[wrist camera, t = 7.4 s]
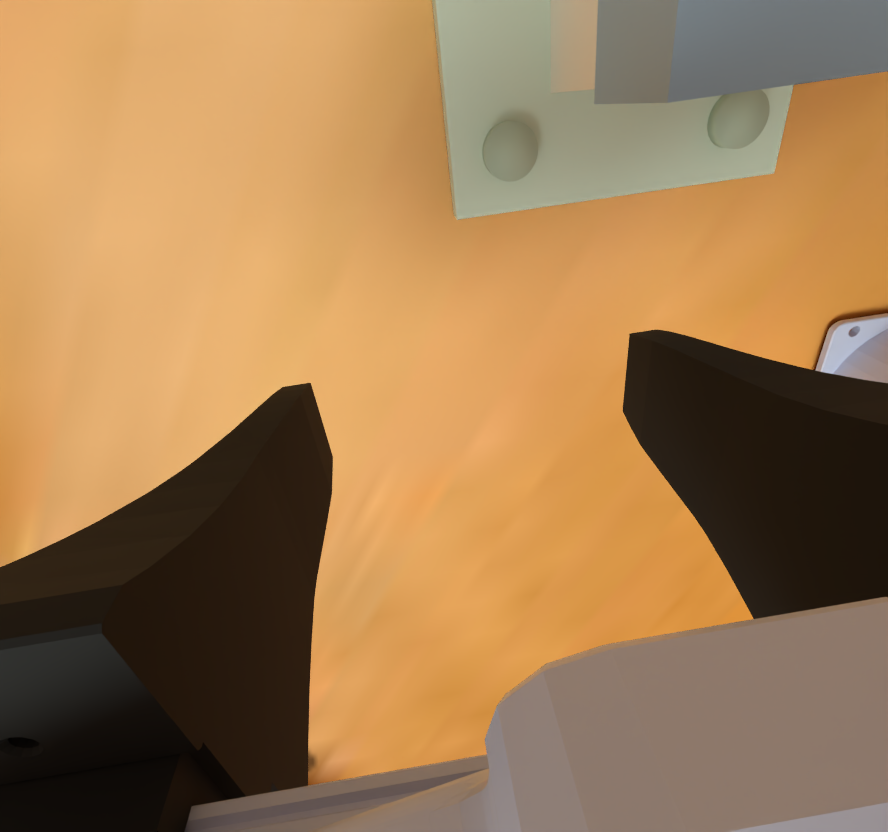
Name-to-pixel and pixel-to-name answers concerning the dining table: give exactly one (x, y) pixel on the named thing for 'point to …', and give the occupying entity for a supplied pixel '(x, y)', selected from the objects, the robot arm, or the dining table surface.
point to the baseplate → (576, 122)
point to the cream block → (573, 44)
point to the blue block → (732, 46)
